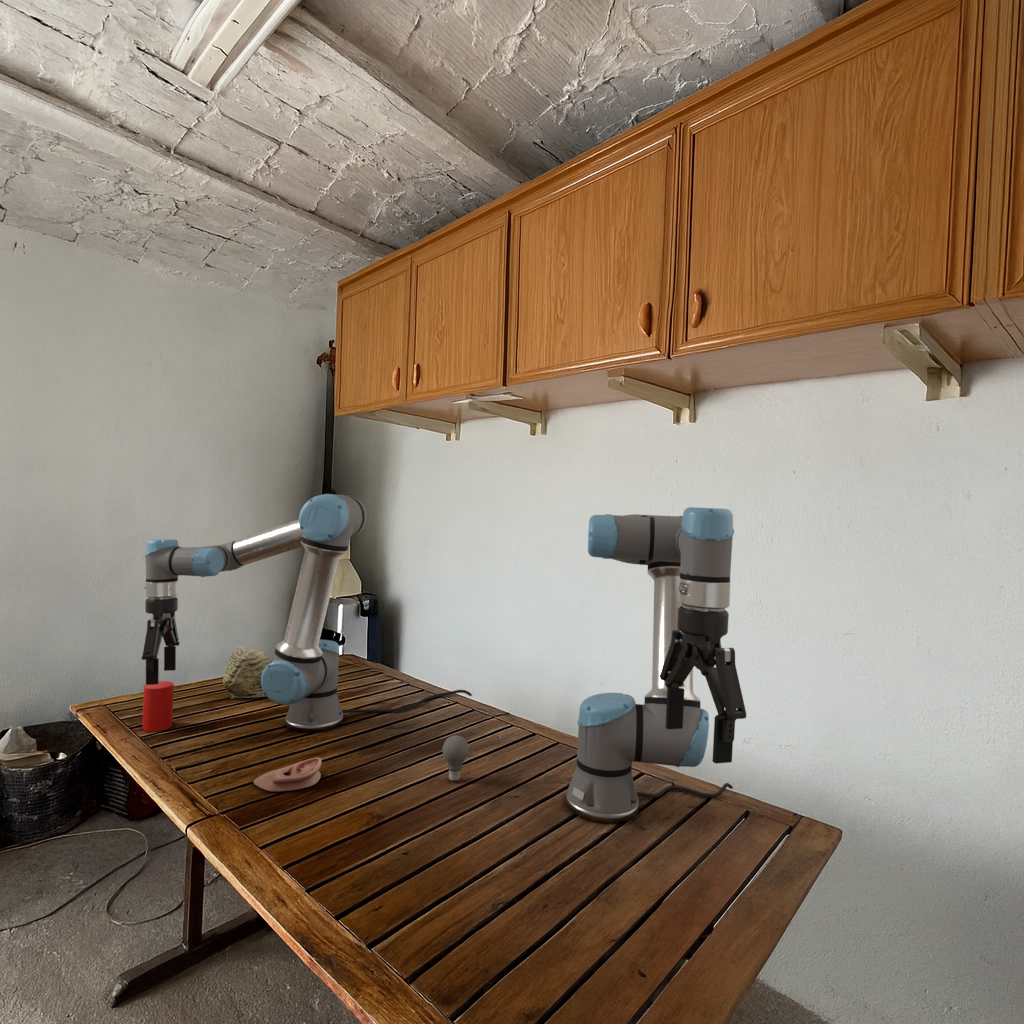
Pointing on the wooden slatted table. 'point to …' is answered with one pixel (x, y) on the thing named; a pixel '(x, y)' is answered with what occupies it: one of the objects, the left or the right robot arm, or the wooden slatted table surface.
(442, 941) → the wooden slatted table surface
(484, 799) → the wooden slatted table surface
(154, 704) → the canister
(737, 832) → the wooden slatted table surface
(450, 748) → the light bulb
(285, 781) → the anatomical model
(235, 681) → the fossil
